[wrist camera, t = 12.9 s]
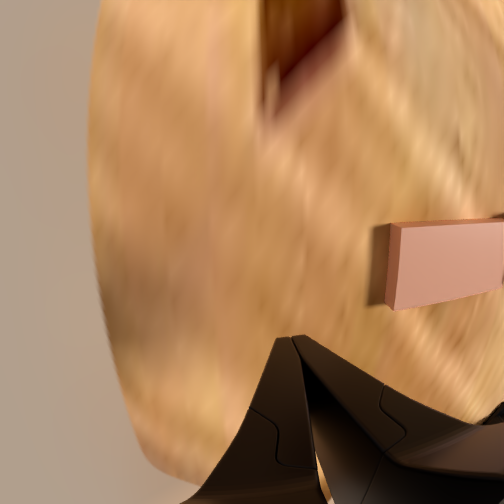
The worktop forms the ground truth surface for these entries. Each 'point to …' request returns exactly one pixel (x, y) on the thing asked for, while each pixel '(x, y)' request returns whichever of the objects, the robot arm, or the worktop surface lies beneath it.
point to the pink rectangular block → (443, 261)
